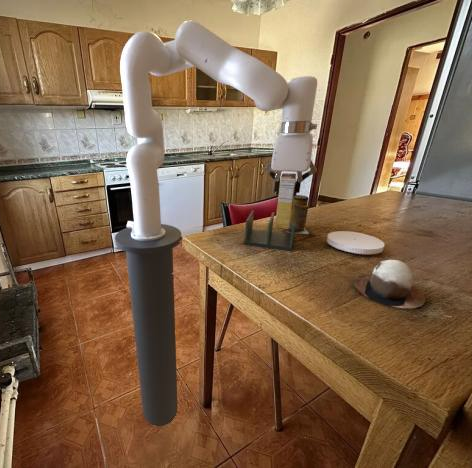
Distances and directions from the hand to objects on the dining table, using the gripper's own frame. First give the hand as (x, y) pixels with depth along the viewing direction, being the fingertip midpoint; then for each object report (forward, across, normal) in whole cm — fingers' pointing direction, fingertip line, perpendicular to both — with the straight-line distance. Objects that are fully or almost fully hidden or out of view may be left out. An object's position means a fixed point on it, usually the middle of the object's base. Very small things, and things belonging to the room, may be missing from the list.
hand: (286, 193), depth 77 cm
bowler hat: (+16, -23, +20) cm, 35 cm away
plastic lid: (+16, -20, -4) cm, 26 cm away
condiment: (+16, -4, -14) cm, 21 cm away
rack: (+16, +3, 0) cm, 16 cm away
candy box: (+10, 0, 0) cm, 10 cm away
